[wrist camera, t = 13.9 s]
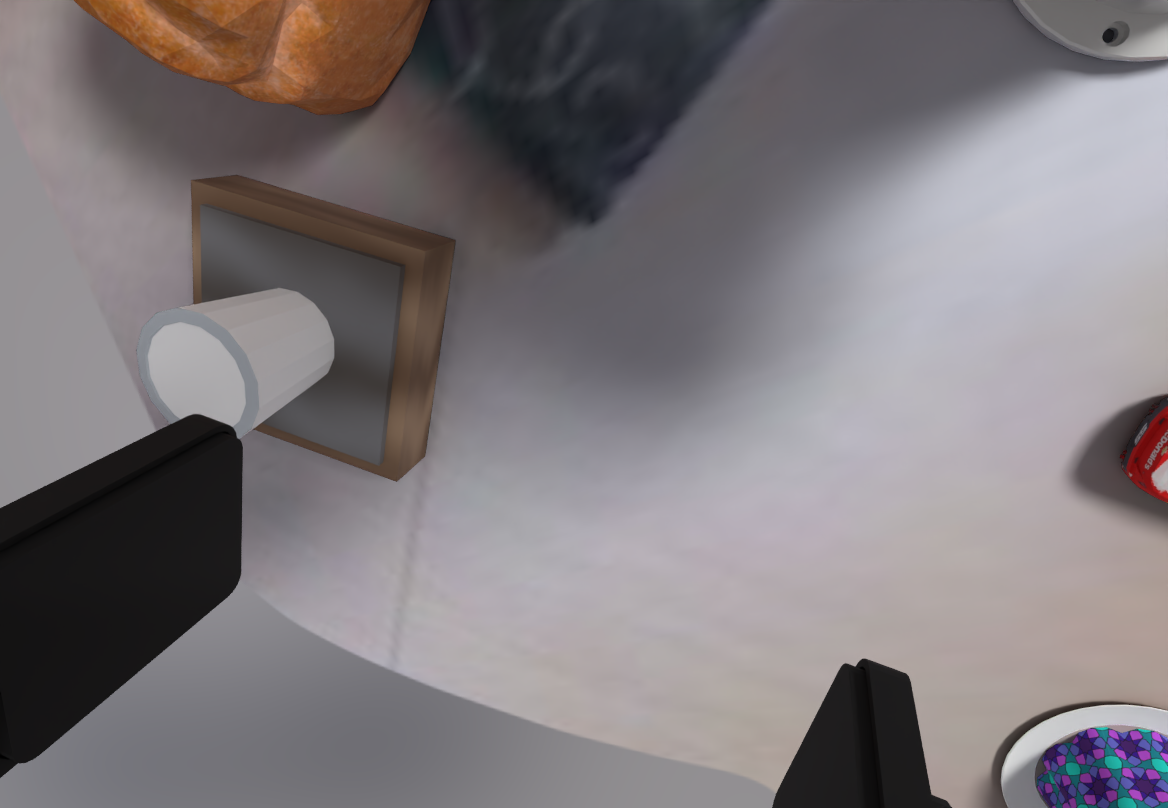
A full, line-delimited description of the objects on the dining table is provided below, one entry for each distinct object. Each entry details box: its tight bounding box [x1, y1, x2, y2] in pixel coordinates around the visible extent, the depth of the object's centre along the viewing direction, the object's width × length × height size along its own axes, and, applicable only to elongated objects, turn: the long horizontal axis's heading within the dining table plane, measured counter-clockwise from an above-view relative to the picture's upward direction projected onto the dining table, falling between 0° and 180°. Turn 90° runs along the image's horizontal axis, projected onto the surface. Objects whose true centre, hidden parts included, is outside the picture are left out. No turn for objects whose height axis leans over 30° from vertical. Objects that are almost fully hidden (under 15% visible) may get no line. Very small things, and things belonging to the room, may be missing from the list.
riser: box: [191, 175, 456, 482], centre depth 42 cm, size 14×14×4 cm
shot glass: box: [136, 288, 334, 439], centre depth 37 cm, size 7×7×7 cm
